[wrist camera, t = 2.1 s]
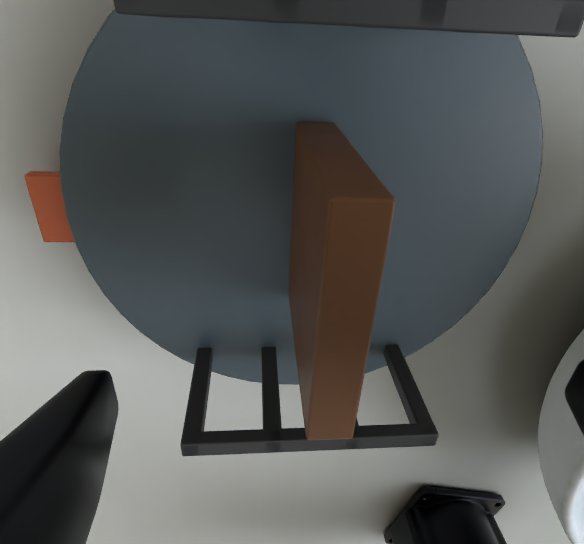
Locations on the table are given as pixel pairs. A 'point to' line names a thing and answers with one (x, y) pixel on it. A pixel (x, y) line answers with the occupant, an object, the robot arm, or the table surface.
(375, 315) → the drying rack
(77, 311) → the table surface
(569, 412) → the serving bowl
